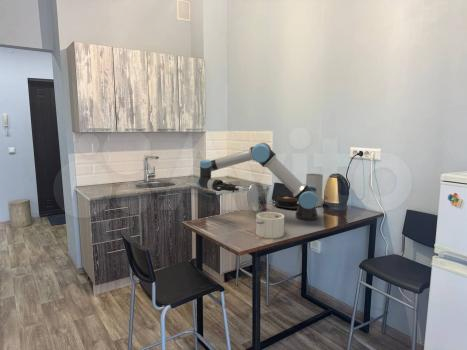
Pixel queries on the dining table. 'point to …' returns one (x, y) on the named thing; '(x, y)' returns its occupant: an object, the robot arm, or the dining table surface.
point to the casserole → (286, 202)
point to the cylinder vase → (317, 181)
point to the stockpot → (269, 224)
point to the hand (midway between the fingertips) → (243, 190)
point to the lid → (256, 197)
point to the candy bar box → (266, 200)
